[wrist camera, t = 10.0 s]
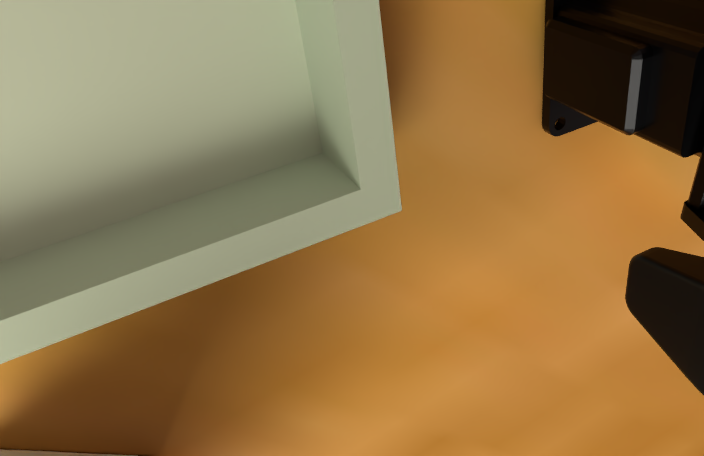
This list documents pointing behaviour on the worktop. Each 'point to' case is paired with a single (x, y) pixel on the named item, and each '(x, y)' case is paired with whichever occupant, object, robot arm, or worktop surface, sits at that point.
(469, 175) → the worktop surface
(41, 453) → the small box
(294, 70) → the crate
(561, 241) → the worktop surface
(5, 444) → the worktop surface
